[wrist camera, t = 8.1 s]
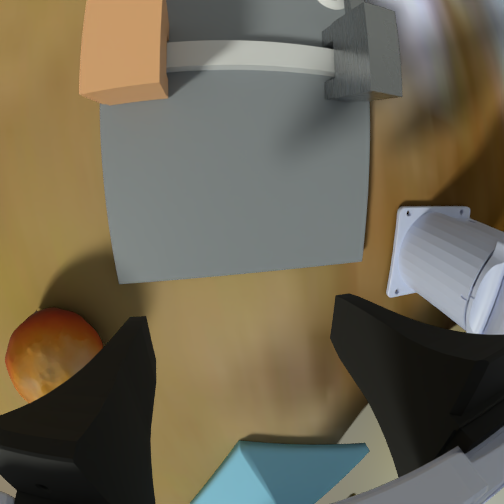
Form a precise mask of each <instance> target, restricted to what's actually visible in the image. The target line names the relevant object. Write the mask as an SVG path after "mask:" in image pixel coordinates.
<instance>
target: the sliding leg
mask: <svg viewBox="0 0 504 504" xmlns="http://www.w3.org/2000/svg"><path fill="white" fill-rule="evenodd" d="M167 41H169V19H168V10H167V3H166V0H87V2H86V9H85V16H84V25H83V34H82V44H81V58H80V78H79V95H81V96H84V97H86V98H89V99H91V100H94V101H96V102H98V103H101V104H107V105H109V106H111V105H117V104H124V103H131V102H139V101H147V100H157V99H168V77H167V74H166V65H167Z"/></svg>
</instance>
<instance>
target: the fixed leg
mask: <svg viewBox="0 0 504 504" xmlns="http://www.w3.org/2000/svg"><path fill="white" fill-rule="evenodd" d="M344 8H345V14H344V15H343V16H341V17H340V18H338V19H337V20H336V21H334V22H333V23H332V25H330V26H329V27H327V28H326V29H325V30H323V31H322V45H323V47H326V48H333V49H334V68H335V78H334V79H332V80H329V81H326V82H324V93H325V100H334V101H343V102H351V103H352V102H358V101H360V102H367V101H374V100H381V99H389V98H397V97H402V78H401V63H400V51H399V41H398V32H397V24H396V17H395V12H394V11H391V10H388V9H385V8H382V7H379V6H376V5H373V4H369V3H366V2H364V0H344Z"/></svg>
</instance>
